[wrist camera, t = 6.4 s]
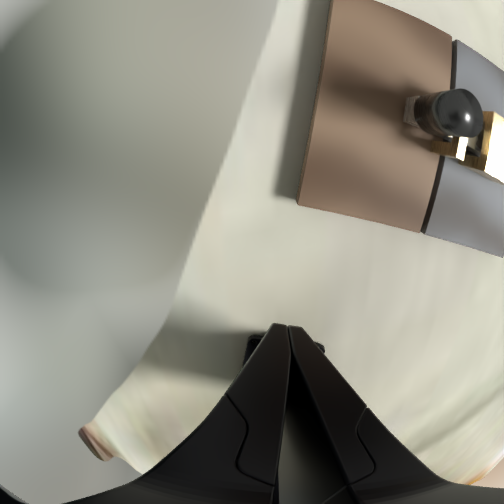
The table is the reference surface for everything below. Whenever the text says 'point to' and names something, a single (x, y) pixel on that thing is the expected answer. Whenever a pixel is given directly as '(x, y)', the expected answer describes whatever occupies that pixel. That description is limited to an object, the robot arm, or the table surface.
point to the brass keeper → (492, 152)
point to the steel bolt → (448, 116)
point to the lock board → (397, 128)
